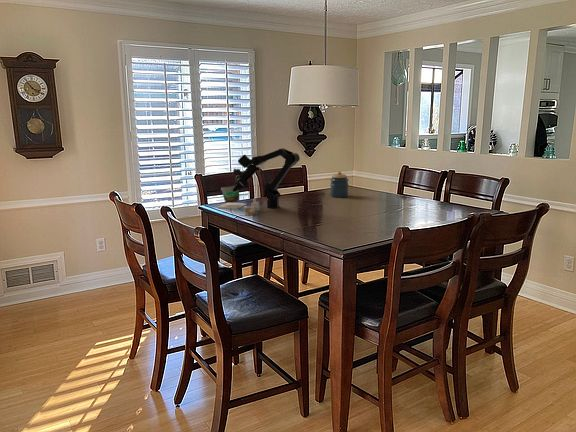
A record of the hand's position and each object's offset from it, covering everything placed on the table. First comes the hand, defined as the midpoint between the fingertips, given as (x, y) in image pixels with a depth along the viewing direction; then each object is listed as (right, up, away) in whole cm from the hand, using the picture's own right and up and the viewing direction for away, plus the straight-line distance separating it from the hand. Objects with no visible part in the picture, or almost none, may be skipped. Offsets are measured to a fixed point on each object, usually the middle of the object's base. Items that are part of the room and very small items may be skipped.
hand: (232, 190), depth 296 cm
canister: (+72, -2, +37) cm, 81 cm away
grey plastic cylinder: (+15, -13, -12) cm, 23 cm away
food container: (0, -7, +1) cm, 7 cm away
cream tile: (0, -10, +2) cm, 10 cm away
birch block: (+13, -15, -22) cm, 30 cm away
